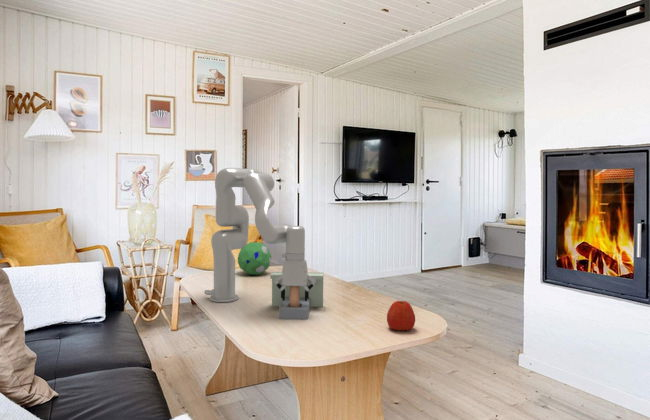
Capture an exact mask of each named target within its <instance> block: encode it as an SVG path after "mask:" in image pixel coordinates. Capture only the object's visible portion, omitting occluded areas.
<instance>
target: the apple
mask: <svg viewBox="0 0 650 420" xmlns="http://www.w3.org/2000/svg"><path fill="white" fill-rule="evenodd" d="M386 322H387V325H388V327H389V329H391V330H394V331H399V332H400V331H403V332H404V331H405V330H406V331H410V330H412V329H414V326H415V324H416V315H415V311H414V309H413V307H412V305H411V304H410V303H409V302H408V301H406V300H397V301H394V302H393V303H392V304H391V305H390V307H389V309H388V311H387V314H386Z"/></svg>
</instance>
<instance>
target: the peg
mask: <svg viewBox="0 0 650 420" xmlns="http://www.w3.org/2000/svg"><path fill="white" fill-rule="evenodd" d="M290 307H300V286H290Z"/></svg>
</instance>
